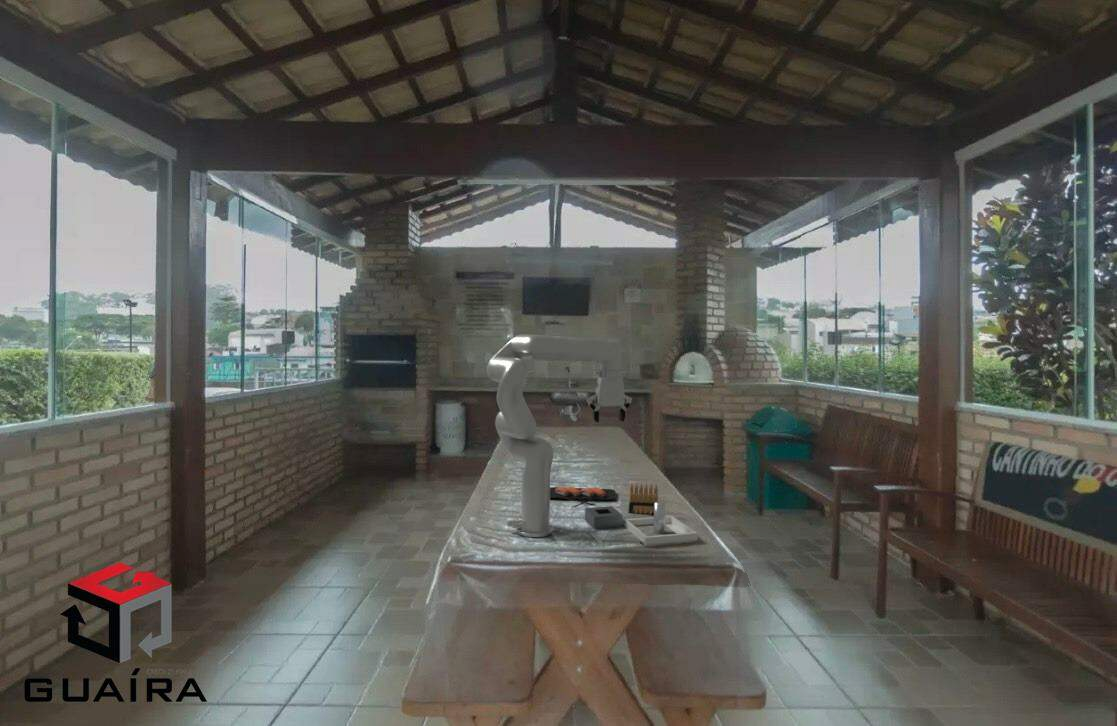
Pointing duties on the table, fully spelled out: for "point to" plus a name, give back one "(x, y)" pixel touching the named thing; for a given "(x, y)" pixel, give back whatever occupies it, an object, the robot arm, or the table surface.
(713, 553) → the table surface
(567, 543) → the table surface
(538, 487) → the robot arm
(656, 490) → the ammunition clip
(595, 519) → the pin block
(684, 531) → the tray
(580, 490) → the sushi plate
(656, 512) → the pin
